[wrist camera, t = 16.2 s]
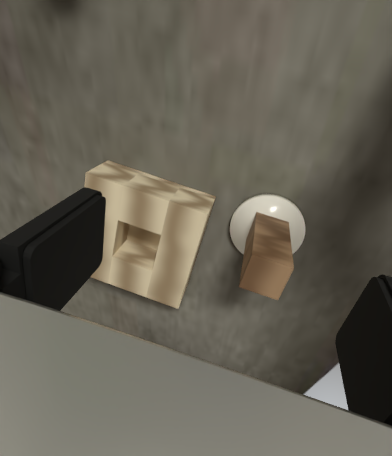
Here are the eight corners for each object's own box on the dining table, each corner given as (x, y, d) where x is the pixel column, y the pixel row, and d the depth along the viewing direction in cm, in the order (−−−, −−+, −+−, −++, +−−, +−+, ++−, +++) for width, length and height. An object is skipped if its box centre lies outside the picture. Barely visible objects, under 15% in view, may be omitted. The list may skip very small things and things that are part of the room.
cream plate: (317, 208, 41) (318, 211, 40) (287, 267, 45) (287, 271, 45) (244, 183, 41) (243, 186, 40) (221, 245, 46) (220, 248, 45)
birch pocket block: (216, 196, 43) (208, 214, 38) (187, 284, 51) (178, 308, 45) (107, 160, 44) (85, 172, 39) (96, 251, 52) (76, 272, 46)
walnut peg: (288, 222, 41) (293, 268, 32) (276, 249, 43) (278, 300, 34) (256, 211, 42) (252, 254, 32) (246, 239, 44) (238, 286, 34)
